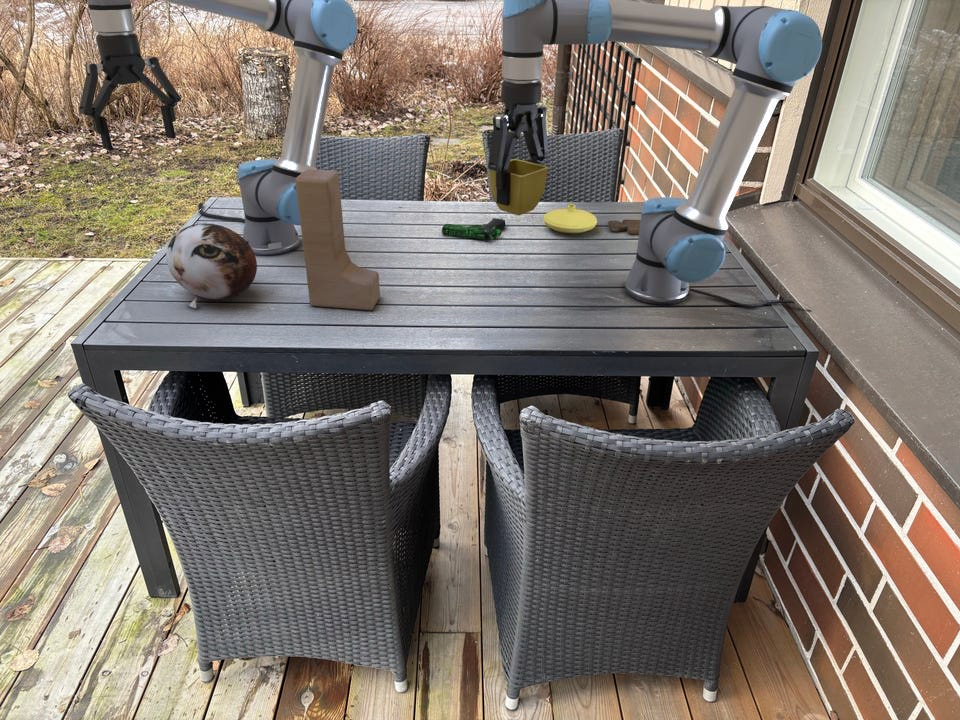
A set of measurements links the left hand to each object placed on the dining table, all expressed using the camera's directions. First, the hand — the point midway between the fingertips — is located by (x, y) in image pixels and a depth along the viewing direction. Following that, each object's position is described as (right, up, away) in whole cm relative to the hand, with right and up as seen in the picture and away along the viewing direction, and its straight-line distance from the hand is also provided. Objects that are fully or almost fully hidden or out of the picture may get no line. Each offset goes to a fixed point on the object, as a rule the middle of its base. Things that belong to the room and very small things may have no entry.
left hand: (140, 143), depth 150 cm
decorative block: (+40, -32, +17) cm, 54 cm away
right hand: (+79, -13, -6) cm, 80 cm away
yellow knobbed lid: (+98, -7, +61) cm, 115 cm away
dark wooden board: (+122, -7, +62) cm, 137 cm away
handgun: (+70, -8, +58) cm, 91 cm away
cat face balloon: (+9, -30, +19) cm, 37 cm away
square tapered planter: (+79, -15, -5) cm, 81 cm away
